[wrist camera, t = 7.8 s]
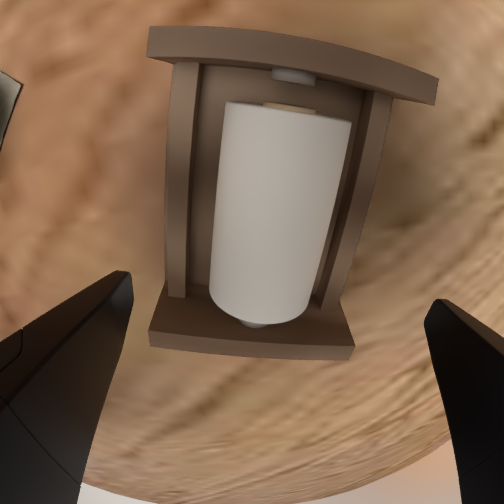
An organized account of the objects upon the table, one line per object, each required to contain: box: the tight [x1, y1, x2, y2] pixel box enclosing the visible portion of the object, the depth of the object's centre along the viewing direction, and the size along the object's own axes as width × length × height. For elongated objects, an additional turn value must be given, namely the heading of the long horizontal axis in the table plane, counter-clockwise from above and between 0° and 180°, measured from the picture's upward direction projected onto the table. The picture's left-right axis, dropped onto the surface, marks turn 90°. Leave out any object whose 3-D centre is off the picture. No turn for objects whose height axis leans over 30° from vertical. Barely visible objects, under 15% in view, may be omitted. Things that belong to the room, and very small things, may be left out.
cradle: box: [146, 26, 439, 360], centre depth 15 cm, size 15×11×6 cm
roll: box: [209, 101, 352, 324], centre depth 14 cm, size 9×5×5 cm, turn 173°
